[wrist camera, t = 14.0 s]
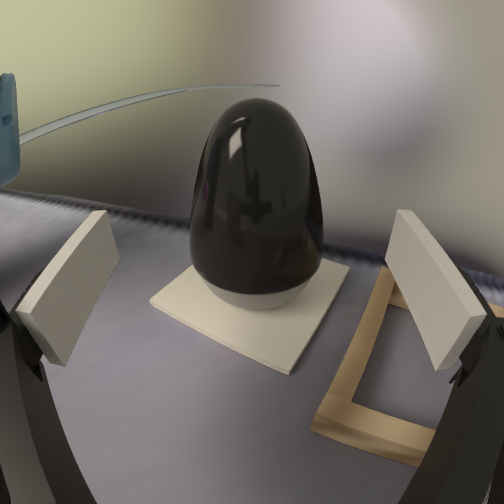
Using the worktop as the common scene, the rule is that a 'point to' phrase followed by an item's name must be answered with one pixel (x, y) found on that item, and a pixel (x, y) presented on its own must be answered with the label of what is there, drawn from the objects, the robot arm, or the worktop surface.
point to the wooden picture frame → (347, 379)
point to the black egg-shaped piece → (256, 208)
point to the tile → (254, 316)
